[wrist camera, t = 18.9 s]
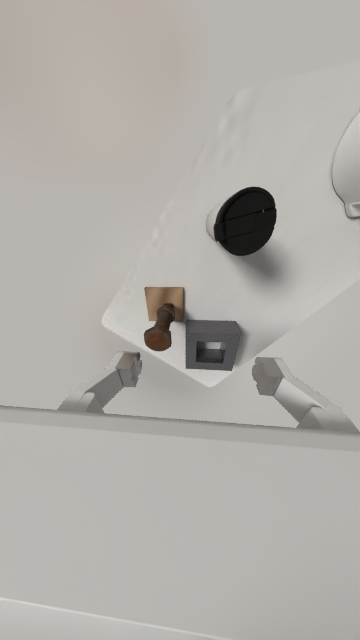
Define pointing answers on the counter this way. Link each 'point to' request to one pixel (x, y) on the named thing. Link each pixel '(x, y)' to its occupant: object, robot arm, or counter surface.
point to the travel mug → (243, 221)
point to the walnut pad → (164, 301)
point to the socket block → (211, 333)
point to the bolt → (161, 329)
